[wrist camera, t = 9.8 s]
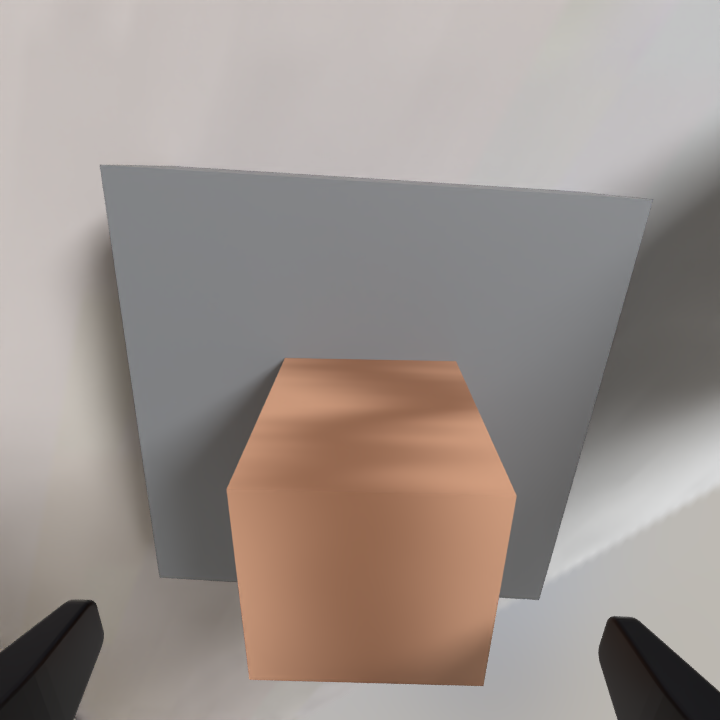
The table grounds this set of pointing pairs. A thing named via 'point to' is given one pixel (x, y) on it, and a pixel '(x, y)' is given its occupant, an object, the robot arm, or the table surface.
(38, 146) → the table surface
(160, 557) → the gray block
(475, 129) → the table surface
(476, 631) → the terracotta cube
